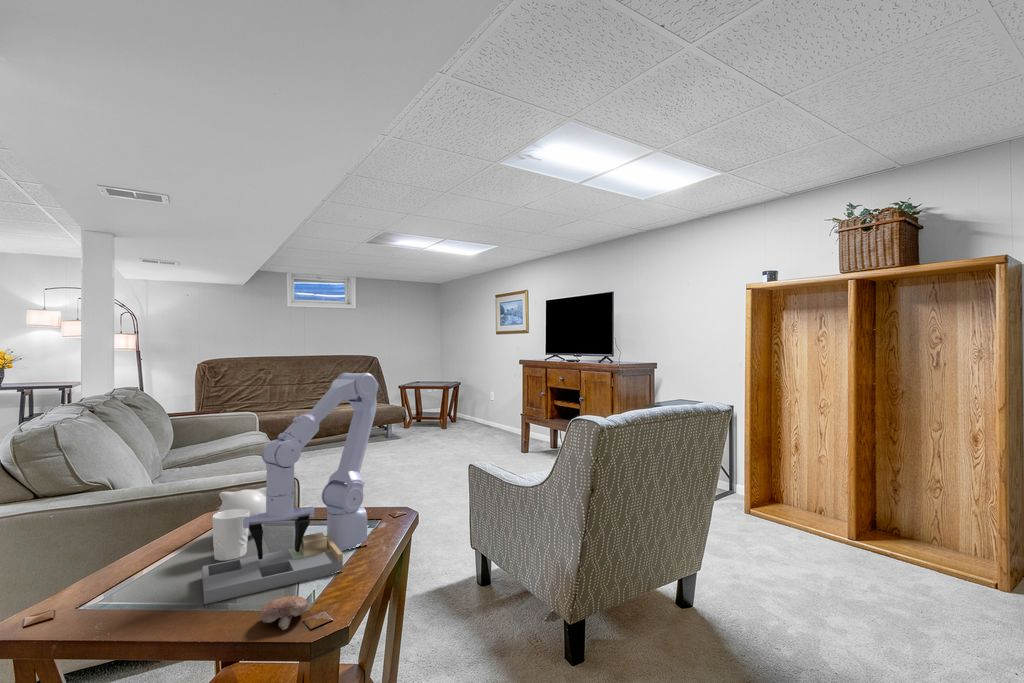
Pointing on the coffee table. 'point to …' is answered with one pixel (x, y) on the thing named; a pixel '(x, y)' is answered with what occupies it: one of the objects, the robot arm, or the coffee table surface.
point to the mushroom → (283, 610)
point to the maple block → (313, 544)
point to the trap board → (267, 572)
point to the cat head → (245, 501)
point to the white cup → (229, 534)
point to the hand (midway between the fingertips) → (278, 554)
